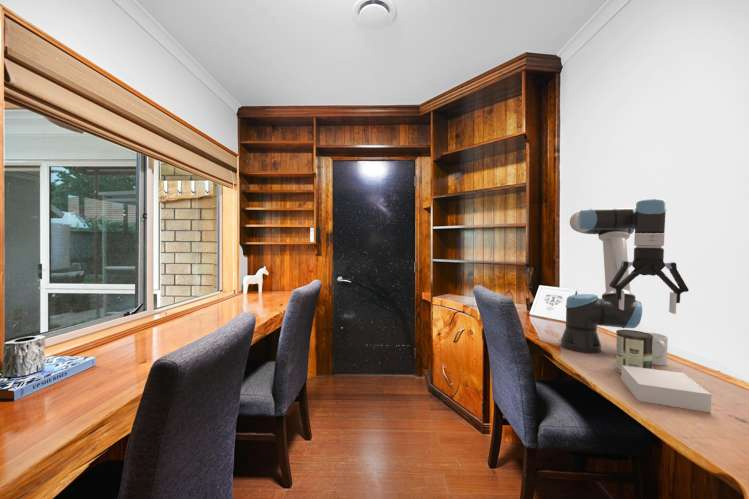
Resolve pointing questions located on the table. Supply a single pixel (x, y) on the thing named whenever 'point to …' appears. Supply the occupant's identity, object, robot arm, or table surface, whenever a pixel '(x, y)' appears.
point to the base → (666, 388)
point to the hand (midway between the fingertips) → (646, 311)
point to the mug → (659, 349)
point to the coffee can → (633, 349)
